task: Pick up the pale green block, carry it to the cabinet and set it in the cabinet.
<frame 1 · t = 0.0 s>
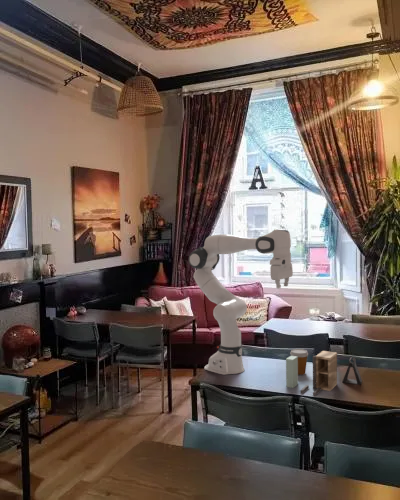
hand: (282, 287, 232), 48 cm above the table, tool pointing down, fingers open, 8 cm apart
disposable coffee cup: (299, 373, 245), on the table
pale green block: (292, 385, 226), on the table
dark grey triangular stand: (352, 382, 229), on the table
cabinet: (314, 388, 220), on the table
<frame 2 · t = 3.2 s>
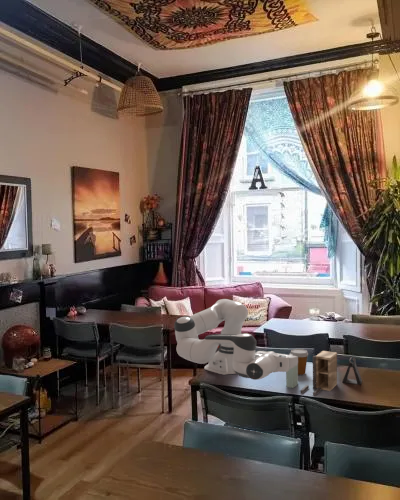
hand: (282, 354, 214), 19 cm above the table, tool horizontal, fingers open, 8 cm apart
nothing on the table moved.
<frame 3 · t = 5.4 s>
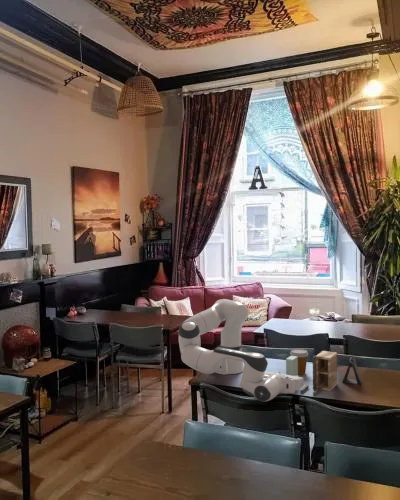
hand: (287, 374, 220), 7 cm above the table, tool horizontal, fingers open, 8 cm apart
nothing on the table moved.
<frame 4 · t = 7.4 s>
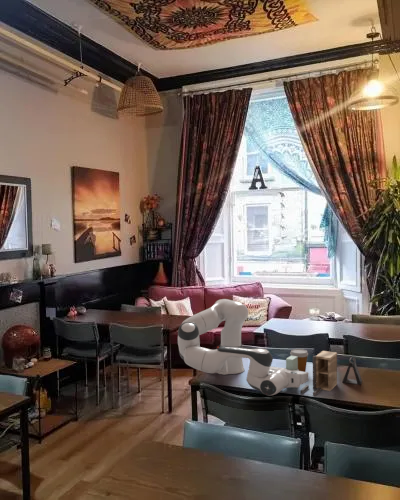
hand: (292, 369, 226), 8 cm above the table, tool horizontal, fingers closed on pale green block, 3 cm apart
pale green block: (292, 385, 226), on the table, touching gripper
everything else where it was.
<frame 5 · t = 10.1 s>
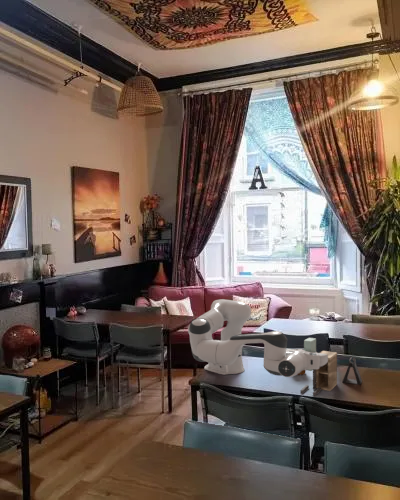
hand: (310, 352, 216), 19 cm above the table, tool horizontal, fingers closed on pale green block, 3 cm apart
pale green block: (310, 368, 216), point 11 cm above the table, touching gripper
everything else where it was.
when the fingers open (9 cm above the table, at t = 12.8 s): pale green block drops 1 cm, resting in cabinet.
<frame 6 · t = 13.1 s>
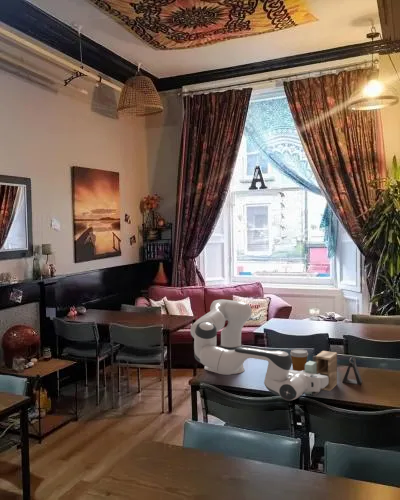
hand: (311, 373, 217), 9 cm above the table, tool horizontal, fingers open, 6 cm apart
pale green block: (310, 392, 216), resting in cabinet
everything else where it was.
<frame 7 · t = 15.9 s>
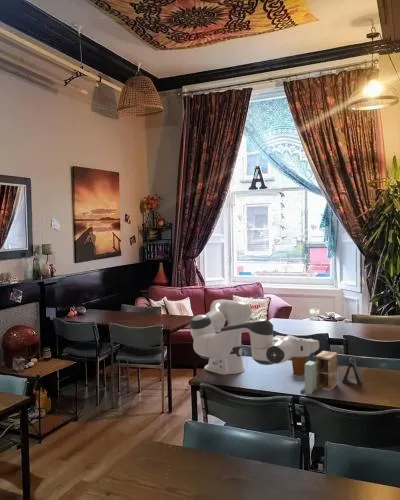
hand: (301, 339, 205), 28 cm above the table, tool horizontal, fingers open, 8 cm apart
nothing on the table moved.
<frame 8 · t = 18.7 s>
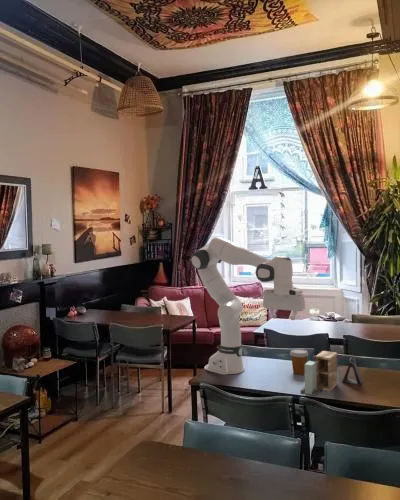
hand: (283, 319, 216), 35 cm above the table, tool pointing down, fingers open, 8 cm apart
nothing on the table moved.
at the end: pale green block 0.1 cm from the target spot on the cabinet, point 0.0 cm above the cabinet's base; pale green block tilted 0°; the gripper is holding nothing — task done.
